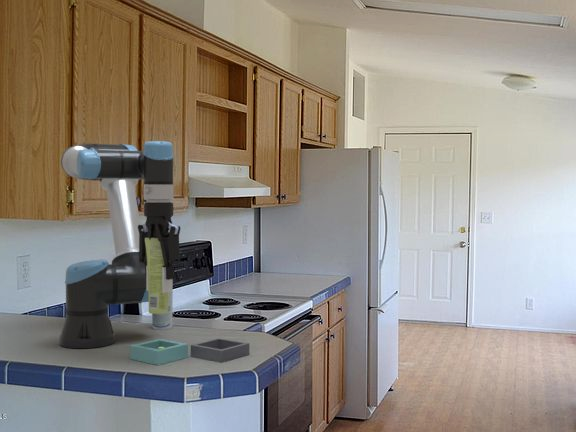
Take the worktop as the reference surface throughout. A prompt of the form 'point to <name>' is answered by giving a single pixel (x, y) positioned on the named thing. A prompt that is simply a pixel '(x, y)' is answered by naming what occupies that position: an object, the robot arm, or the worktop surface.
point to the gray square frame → (220, 349)
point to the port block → (158, 351)
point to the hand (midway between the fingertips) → (159, 290)
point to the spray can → (164, 316)
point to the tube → (155, 277)
